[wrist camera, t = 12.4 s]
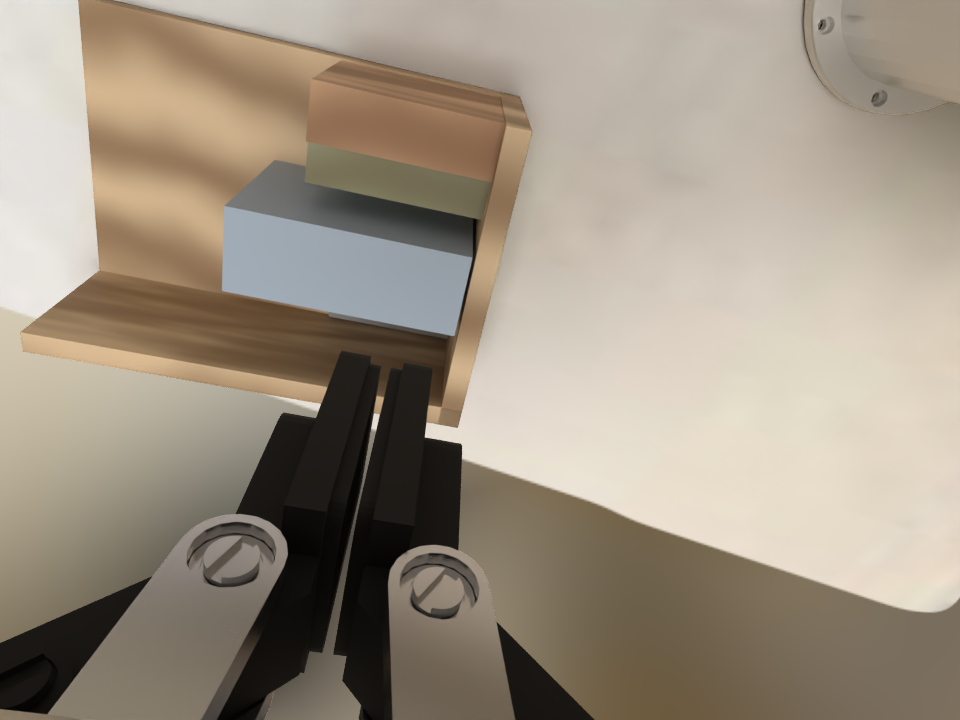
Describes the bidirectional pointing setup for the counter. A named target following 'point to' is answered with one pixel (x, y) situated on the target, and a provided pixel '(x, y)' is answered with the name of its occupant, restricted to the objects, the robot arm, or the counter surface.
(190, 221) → the shelf
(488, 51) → the counter surface
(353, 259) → the boxed book
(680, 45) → the counter surface
